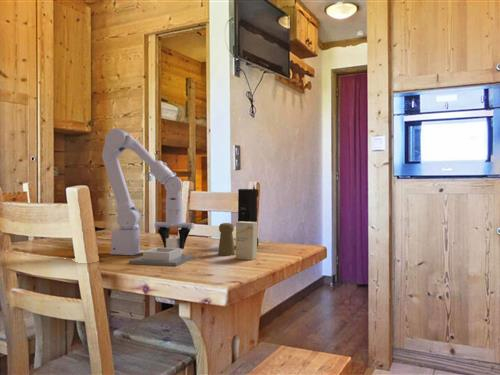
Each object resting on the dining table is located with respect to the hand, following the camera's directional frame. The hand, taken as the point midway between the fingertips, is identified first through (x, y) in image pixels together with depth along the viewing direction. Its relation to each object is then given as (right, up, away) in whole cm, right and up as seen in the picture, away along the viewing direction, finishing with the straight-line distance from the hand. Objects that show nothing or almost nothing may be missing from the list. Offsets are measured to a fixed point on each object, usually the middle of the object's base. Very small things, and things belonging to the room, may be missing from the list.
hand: (174, 248), depth 154 cm
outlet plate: (-1, -2, -15) cm, 15 cm away
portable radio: (+26, -2, +15) cm, 30 cm away
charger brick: (0, -2, 0) cm, 2 cm away
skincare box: (+26, -2, -11) cm, 28 cm away
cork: (+19, -2, -3) cm, 19 cm away
